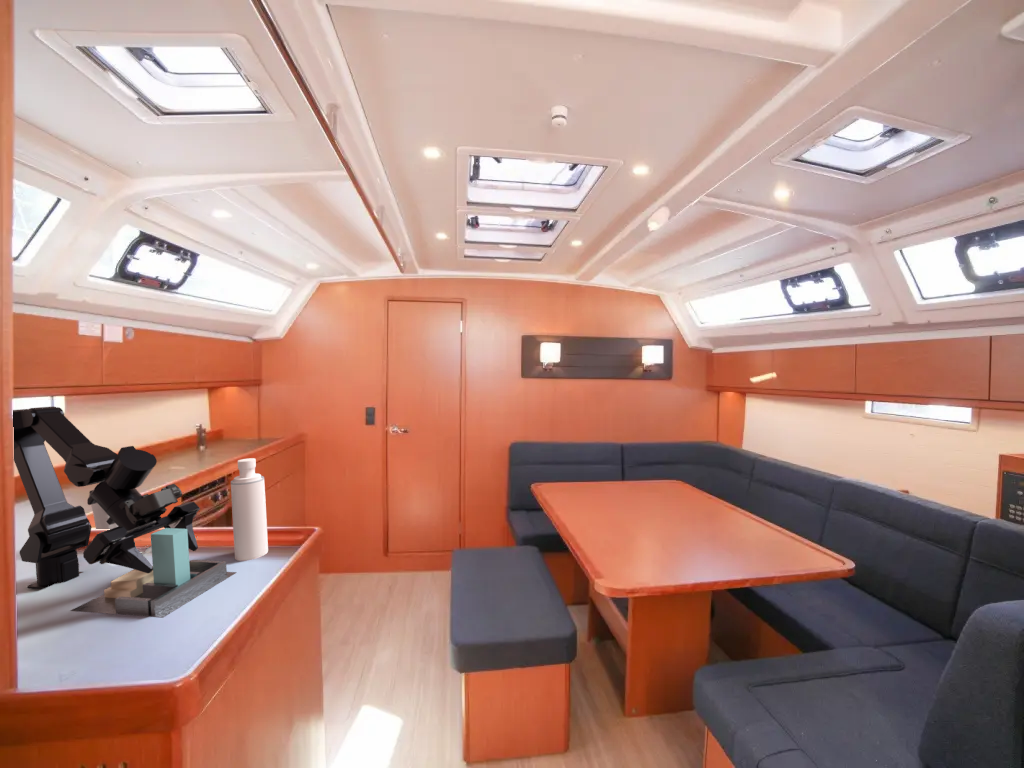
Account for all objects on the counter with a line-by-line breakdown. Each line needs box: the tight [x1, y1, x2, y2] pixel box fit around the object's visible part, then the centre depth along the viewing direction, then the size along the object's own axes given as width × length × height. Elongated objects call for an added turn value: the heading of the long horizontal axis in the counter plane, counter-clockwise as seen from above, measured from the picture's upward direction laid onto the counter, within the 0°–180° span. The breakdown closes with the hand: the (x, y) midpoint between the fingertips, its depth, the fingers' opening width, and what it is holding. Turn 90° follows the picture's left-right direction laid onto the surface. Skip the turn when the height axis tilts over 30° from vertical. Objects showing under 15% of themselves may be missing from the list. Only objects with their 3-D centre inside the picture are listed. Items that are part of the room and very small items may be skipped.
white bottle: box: [230, 457, 269, 562], centre depth 96 cm, size 7×7×25 cm
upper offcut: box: [110, 565, 154, 589], centre depth 83 cm, size 5×6×2 cm
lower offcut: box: [103, 579, 154, 598], centre depth 82 cm, size 6×7×2 cm
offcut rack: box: [69, 559, 238, 618], centre depth 82 cm, size 20×16×3 cm
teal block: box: [150, 528, 190, 586], centre depth 81 cm, size 5×3×12 cm, turn 81°
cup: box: [90, 503, 118, 530], centre depth 109 cm, size 8×8×12 cm
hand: (174, 559), depth 81 cm, fingers open, 9 cm apart
